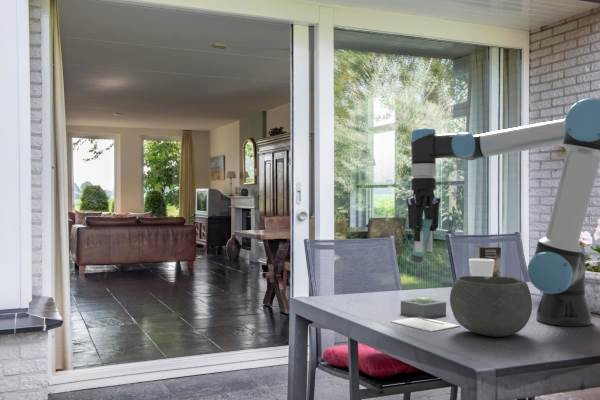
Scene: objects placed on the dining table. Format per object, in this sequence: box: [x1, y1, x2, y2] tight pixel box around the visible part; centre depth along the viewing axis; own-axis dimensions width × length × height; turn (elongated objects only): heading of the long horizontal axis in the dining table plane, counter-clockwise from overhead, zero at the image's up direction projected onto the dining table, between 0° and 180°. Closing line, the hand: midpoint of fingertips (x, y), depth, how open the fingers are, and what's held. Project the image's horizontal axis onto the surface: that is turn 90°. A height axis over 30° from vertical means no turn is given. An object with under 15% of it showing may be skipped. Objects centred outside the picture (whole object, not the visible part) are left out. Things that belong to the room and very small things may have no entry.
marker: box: [410, 216, 432, 263], centre depth 194 cm, size 4×4×14 cm
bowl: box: [449, 275, 533, 338], centre depth 165 cm, size 21×21×15 cm
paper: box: [390, 316, 461, 333], centre depth 178 cm, size 16×12×1 cm
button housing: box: [400, 298, 447, 319], centre depth 193 cm, size 10×10×4 cm
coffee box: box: [474, 245, 502, 277], centre depth 259 cm, size 9×6×16 cm
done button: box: [414, 296, 432, 304], centre depth 193 cm, size 5×5×5 cm
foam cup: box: [468, 258, 494, 277], centre depth 235 cm, size 10×9×13 cm
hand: (423, 251), depth 193 cm, fingers closed on marker, 3 cm apart
